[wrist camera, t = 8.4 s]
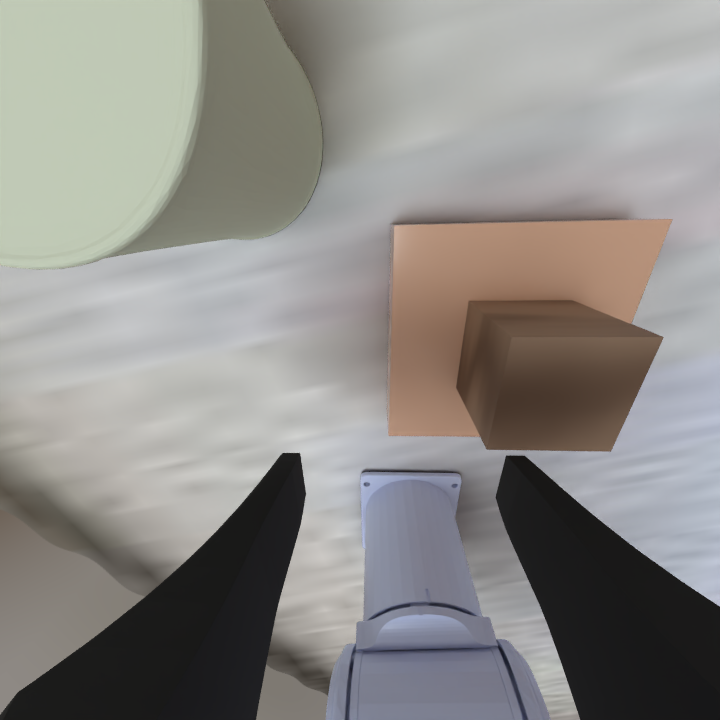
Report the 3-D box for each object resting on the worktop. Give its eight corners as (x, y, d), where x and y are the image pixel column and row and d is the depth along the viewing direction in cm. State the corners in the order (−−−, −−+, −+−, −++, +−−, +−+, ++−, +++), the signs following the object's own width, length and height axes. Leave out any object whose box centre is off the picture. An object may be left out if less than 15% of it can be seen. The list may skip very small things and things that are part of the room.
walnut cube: (545, 388, 17) (610, 451, 12) (455, 387, 17) (486, 449, 12) (572, 300, 14) (663, 337, 10) (468, 300, 15) (511, 336, 10)
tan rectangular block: (558, 408, 21) (586, 437, 18) (386, 408, 21) (388, 435, 18) (619, 219, 15) (672, 219, 13) (390, 224, 16) (394, 225, 13)
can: (316, 3, 12) (-61, -1432, 2) (328, 239, 16) (242, 277, 6) (106, 11, 13) (-1349, -1120, 2) (167, 240, 17) (-204, 278, 6)
